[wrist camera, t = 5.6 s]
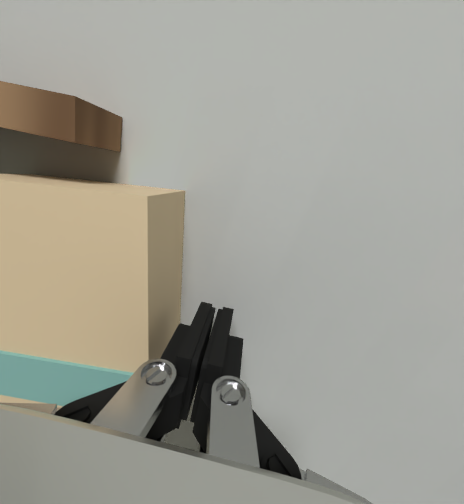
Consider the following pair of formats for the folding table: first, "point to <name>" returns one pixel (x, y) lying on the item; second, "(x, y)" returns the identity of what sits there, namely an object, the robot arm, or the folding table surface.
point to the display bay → (58, 117)
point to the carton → (84, 283)
